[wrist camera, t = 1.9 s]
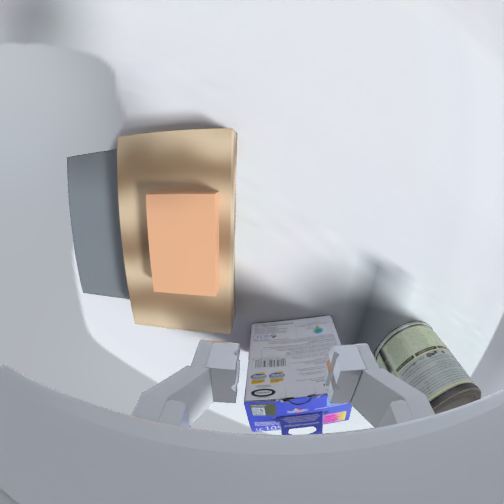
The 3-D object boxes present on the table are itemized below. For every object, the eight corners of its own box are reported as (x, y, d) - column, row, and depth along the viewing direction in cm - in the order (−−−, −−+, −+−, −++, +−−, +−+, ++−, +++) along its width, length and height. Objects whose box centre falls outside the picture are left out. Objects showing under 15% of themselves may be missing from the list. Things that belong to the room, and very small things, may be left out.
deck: (135, 138, 26) (117, 136, 22) (237, 133, 25) (232, 128, 21) (147, 306, 32) (135, 323, 28) (234, 314, 32) (230, 334, 28)
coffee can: (441, 345, 32) (484, 406, 19) (389, 385, 35) (418, 454, 22) (420, 306, 30) (476, 374, 17) (360, 353, 33) (391, 436, 19)
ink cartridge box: (254, 357, 34) (247, 452, 20) (248, 322, 32) (237, 420, 18) (331, 348, 33) (355, 440, 19) (331, 313, 31) (364, 406, 17)
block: (154, 191, 23) (145, 194, 21) (219, 191, 23) (214, 194, 21) (161, 282, 26) (153, 291, 24) (219, 286, 26) (216, 296, 24)
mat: (68, 157, 26) (67, 157, 26) (135, 147, 26) (134, 147, 26) (84, 291, 32) (83, 292, 32) (146, 299, 32) (145, 300, 31)
